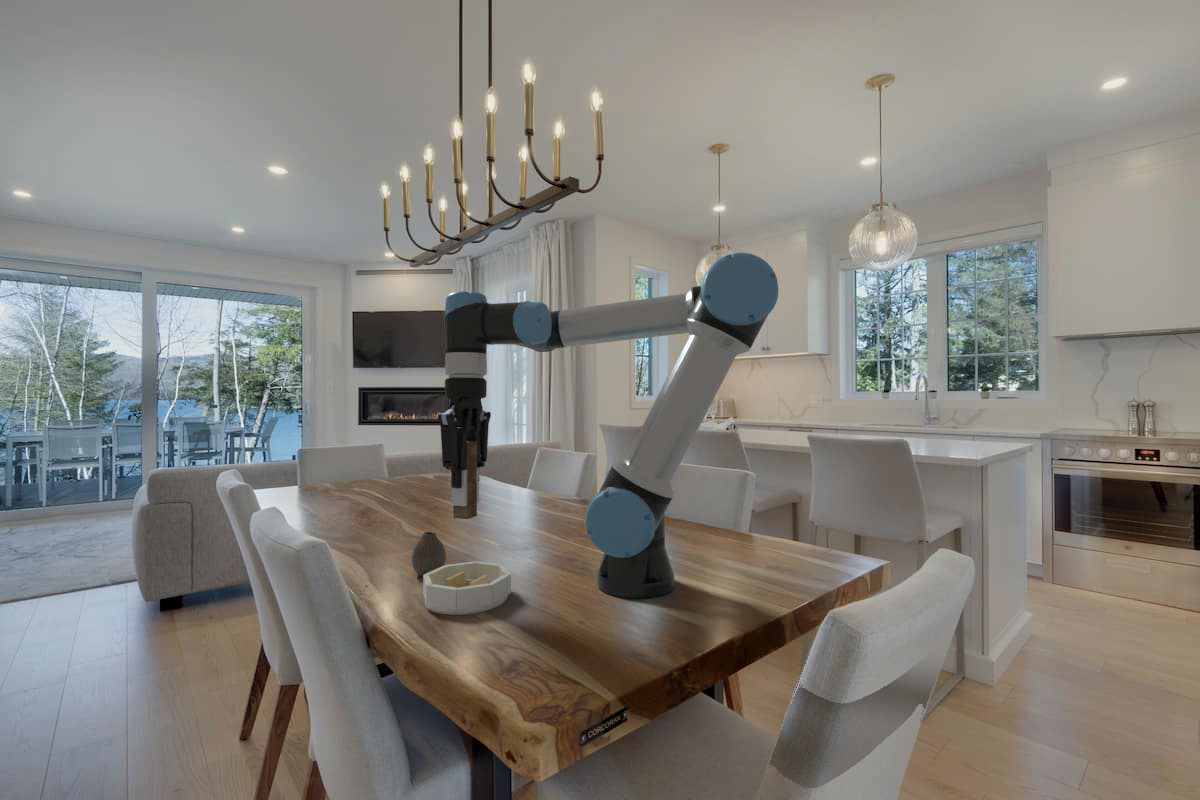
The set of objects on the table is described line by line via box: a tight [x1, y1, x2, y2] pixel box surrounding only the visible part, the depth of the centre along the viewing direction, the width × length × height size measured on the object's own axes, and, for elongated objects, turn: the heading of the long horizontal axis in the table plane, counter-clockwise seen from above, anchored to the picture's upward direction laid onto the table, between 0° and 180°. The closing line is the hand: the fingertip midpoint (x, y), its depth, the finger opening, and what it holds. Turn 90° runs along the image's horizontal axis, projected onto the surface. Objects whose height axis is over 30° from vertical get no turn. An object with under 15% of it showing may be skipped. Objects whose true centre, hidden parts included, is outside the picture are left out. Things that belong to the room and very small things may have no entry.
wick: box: [452, 441, 478, 520], centre depth 100 cm, size 3×3×14 cm
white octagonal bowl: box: [422, 561, 512, 616], centre depth 100 cm, size 15×15×4 cm
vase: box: [411, 531, 447, 578], centre depth 114 cm, size 7×7×9 cm
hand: (465, 503), depth 100 cm, fingers closed on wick, 3 cm apart
